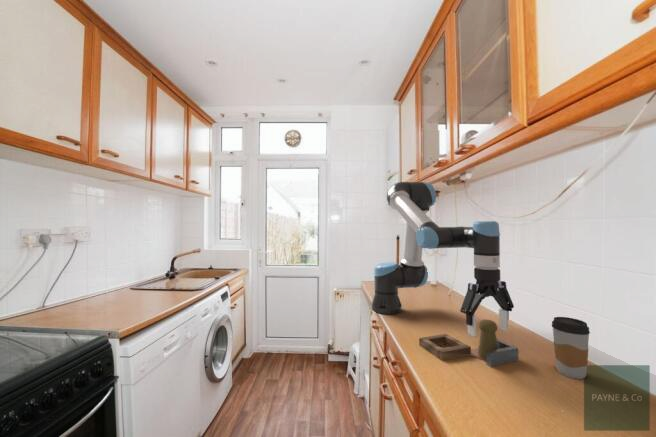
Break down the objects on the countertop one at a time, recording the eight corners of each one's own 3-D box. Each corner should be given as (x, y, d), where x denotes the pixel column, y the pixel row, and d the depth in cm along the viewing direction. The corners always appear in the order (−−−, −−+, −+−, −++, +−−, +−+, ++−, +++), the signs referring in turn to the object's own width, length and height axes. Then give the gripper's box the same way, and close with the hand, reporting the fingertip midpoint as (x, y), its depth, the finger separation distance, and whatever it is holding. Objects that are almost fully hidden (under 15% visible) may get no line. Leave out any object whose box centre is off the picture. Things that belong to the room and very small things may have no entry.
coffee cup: (592, 373, 79) (590, 321, 80) (590, 385, 74) (588, 328, 74) (555, 363, 85) (553, 314, 86) (550, 373, 80) (549, 321, 80)
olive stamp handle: (502, 359, 87) (501, 324, 87) (481, 357, 88) (481, 323, 89) (495, 350, 93) (494, 318, 93) (475, 349, 94) (474, 317, 95)
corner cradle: (461, 350, 94) (461, 338, 94) (487, 345, 98) (487, 334, 98) (490, 366, 83) (490, 353, 84) (518, 360, 87) (518, 348, 87)
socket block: (419, 345, 99) (419, 337, 99) (445, 340, 102) (445, 333, 102) (442, 360, 88) (441, 352, 88) (470, 354, 91) (470, 346, 91)
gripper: (465, 271, 84) (467, 342, 84) (525, 267, 92) (527, 331, 91) (447, 268, 91) (449, 332, 91) (504, 264, 99) (506, 323, 98)
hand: (488, 332), depth 91 cm, fingers open, 13 cm apart
